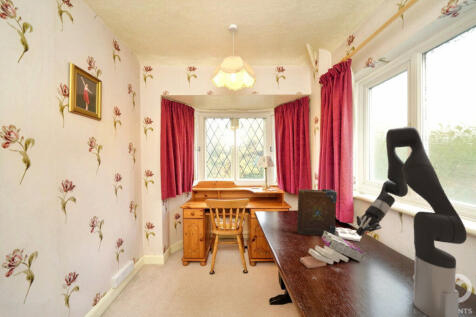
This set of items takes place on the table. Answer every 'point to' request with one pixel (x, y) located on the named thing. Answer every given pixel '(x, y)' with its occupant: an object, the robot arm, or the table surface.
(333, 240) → the candy bar box
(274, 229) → the table surface
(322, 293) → the table surface
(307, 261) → the domino
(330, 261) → the domino
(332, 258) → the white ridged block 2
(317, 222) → the decorative book
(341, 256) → the domino
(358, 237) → the white brass knuckles
